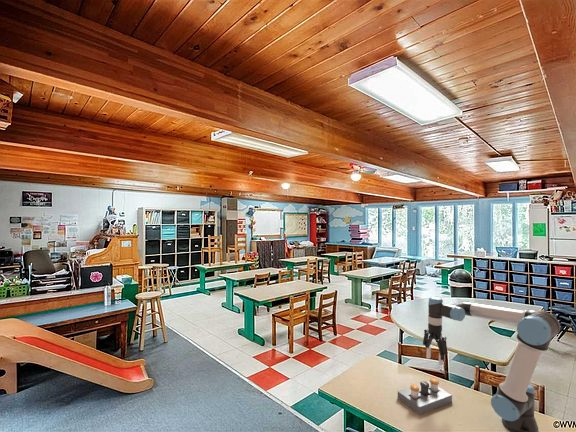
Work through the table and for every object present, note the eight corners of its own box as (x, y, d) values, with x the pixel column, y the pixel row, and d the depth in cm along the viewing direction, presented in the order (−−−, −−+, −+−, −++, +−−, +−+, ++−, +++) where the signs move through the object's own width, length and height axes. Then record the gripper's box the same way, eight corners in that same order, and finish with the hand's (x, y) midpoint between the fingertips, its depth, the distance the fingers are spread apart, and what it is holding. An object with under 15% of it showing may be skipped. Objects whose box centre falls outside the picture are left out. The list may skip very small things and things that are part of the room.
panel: (451, 401, 176) (452, 395, 176) (419, 414, 166) (419, 407, 165) (428, 387, 191) (428, 380, 191) (397, 397, 180) (397, 391, 180)
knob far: (440, 392, 180) (440, 381, 180) (434, 394, 178) (434, 383, 178) (433, 388, 185) (433, 377, 185) (427, 390, 183) (428, 379, 183)
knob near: (421, 399, 174) (421, 388, 174) (414, 401, 172) (415, 390, 172) (414, 394, 178) (414, 383, 178) (408, 396, 176) (408, 385, 176)
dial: (430, 395, 177) (431, 384, 177) (425, 398, 175) (425, 386, 175) (424, 391, 181) (424, 380, 181) (418, 393, 179) (418, 382, 179)
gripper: (455, 328, 173) (454, 368, 173) (425, 317, 192) (424, 352, 192) (446, 330, 170) (445, 371, 170) (416, 318, 189) (416, 354, 189)
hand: (434, 361), depth 181 cm, fingers open, 8 cm apart
